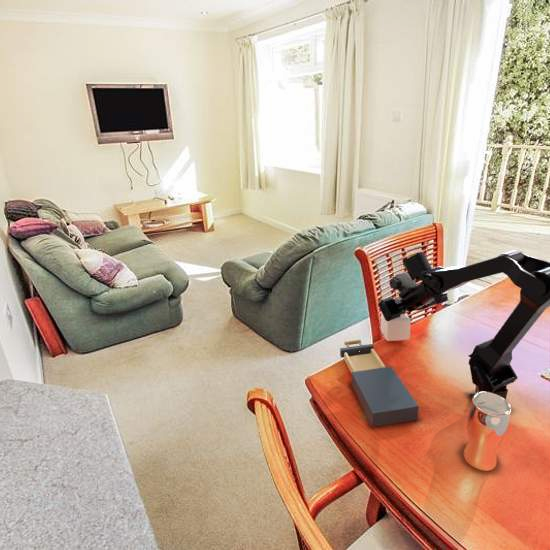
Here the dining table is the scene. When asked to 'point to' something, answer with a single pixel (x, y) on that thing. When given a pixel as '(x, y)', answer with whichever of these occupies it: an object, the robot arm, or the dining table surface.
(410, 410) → the cabinet
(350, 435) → the dining table surface
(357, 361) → the drawer
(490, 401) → the beer glass
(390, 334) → the medicine bottle
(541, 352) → the dining table surface
